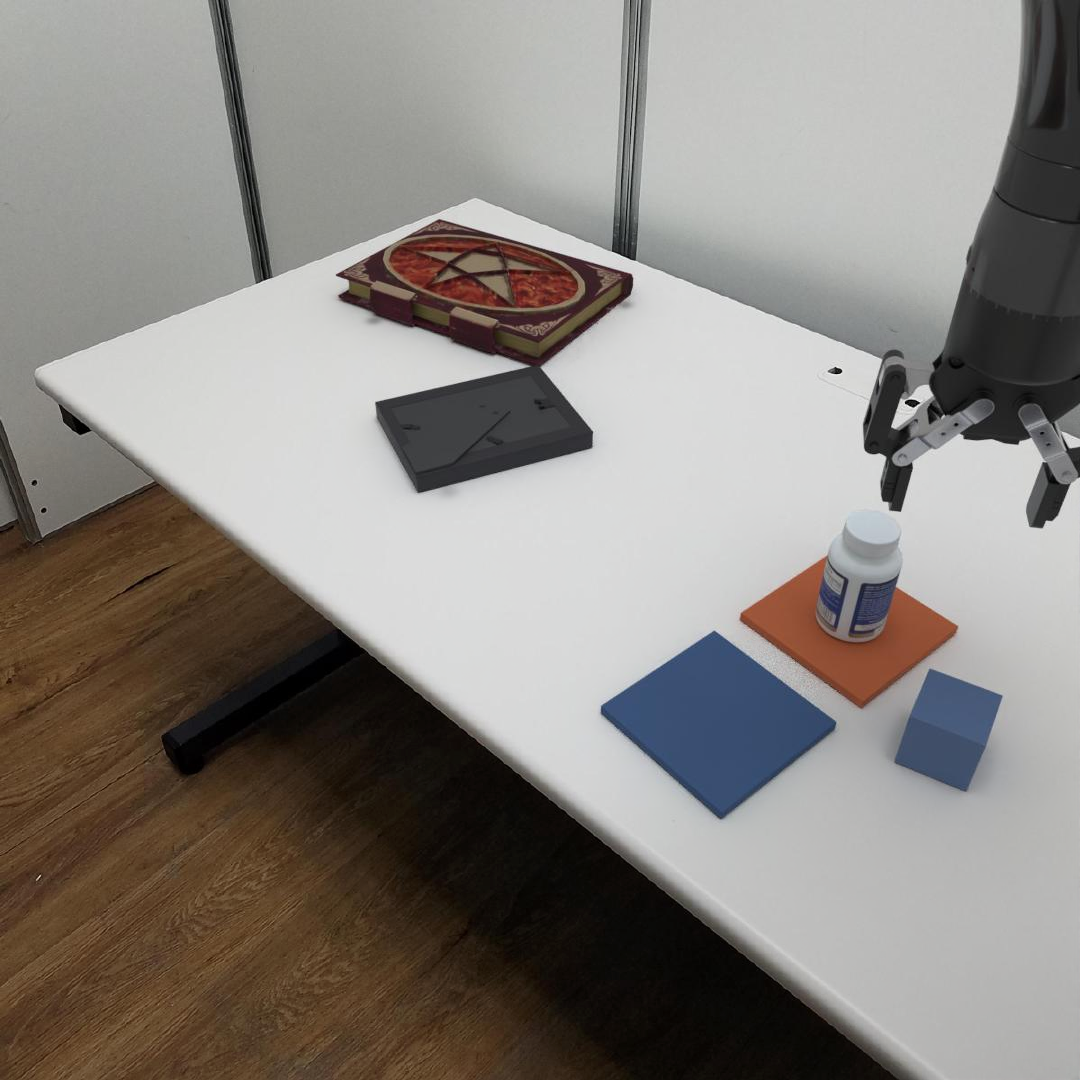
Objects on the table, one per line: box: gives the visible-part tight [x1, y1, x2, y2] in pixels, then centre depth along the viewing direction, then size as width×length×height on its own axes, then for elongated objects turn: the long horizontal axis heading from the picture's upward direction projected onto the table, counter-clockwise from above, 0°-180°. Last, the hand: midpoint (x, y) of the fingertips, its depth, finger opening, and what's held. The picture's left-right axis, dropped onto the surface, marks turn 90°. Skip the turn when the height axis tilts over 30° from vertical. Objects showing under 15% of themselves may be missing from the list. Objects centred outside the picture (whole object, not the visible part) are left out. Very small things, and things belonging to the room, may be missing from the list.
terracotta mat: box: [739, 554, 959, 709], centre depth 84 cm, size 12×12×1 cm
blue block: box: [893, 668, 1003, 792], centre depth 74 cm, size 5×5×5 cm
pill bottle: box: [816, 509, 904, 642], centre depth 81 cm, size 5×5×10 cm
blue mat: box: [600, 630, 838, 820], centre depth 77 cm, size 12×12×1 cm
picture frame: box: [374, 365, 594, 493], centre depth 104 cm, size 13×2×18 cm
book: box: [335, 218, 634, 366], centre depth 125 cm, size 28×21×5 cm
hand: (963, 511), depth 68 cm, fingers open, 8 cm apart
